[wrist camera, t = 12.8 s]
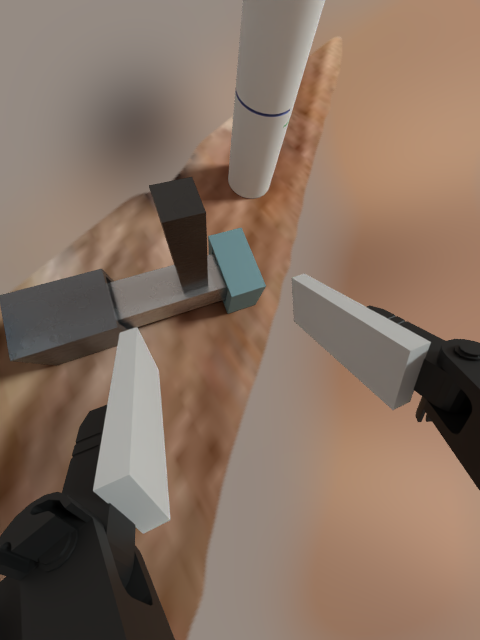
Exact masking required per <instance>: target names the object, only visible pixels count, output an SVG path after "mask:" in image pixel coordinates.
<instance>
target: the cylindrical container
mask: <svg viewBox="0 0 480 640" xmlns="http://www.w3.org/2000/svg"><path fill="white" fill-rule="evenodd" d="M324 2H325V0H243V6H242V18H241V30H240V42H239V55H238V68H237V79H236V91H235V103H234V114H233V126H232V138H231V150H230V162H229V175H228V182H229V185H230V187H231V189H232V190H233V191H234V192H235V193H236V194H238V195H240V196H242V197H245V198H258V197H261V196H263V195H264V194H265V193H266V192H267V191H268V189H269V186H270V183H271V179H272V176H273V173H274V169H275V166H276V163H277V159H278V156H279V153H280V149H281V146H282V143H283V139H284V136H285V133H286V129H287V126H288V123H289V119H290V116H291V113H292V109H293V106H294V103H295V99H296V96H297V93H298V89H299V86H300V82H301V79H302V76H303V72H304V69H305V66H306V62H307V59H308V56H309V52H310V49H311V46H312V42H313V39H314V36H315V32H316V29H317V25H318V22H319V19H320V16H321V12H322V9H323V6H324Z"/></svg>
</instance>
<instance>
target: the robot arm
mask: <svg viewBox="0 0 480 640" xmlns="http://www.w3.org/2000/svg"><path fill="white" fill-rule="evenodd" d="M292 293H293V312H294V322H296V324H298V325H299V326H300V327H301V328H302V329H303V330H304V331H305V332H306V333H308V334H309V335H310V336H311V337H312V338H313V339H314V340H316V341H317V342H318V343H319V344H320V345H321V346H322V347H323V348H324V349H325V350H327V351H328V352H329V353H330V354H331V355H332V356H333V357H334V358H335V359H337V360H338V361H339V362H340V363H341V364H342V365H343V366H344V367H345V368H347V369H348V370H349V371H350V372H351V373H352V374H353V375H355V377H357V378H358V379H359V380H360V381H361V382H362V383H363V384H364V385H366V386H367V387H368V388H369V389H370V390H371V391H372V392H373V393H374V394H375V395H377V396H378V397H379V398H380V399H381V400H382V401H383V402H384V403H386V404H387V405H388V406H389V407H390V408H391V409H392V410H394V409H396V408H398V407H400V406H402V405H404V404H406V403H408V402H410V400H411V397H412V394H413V392H414V390H415V391H416V392H417V393H419V394H420V395H422V398H421V401H420V403H419V406H418V408H417V411H416V418H417V421H418V422H421V421H422V419H423V417H424V414H425V412H426V413H427V415H426V421H427V422H428V421H432V422H433V423H434V425H435V426H436V428H437V429H438V431H439V432H440V433H441V435H442V436H443V438H444V439H445V441H446V442H447V444H448V445H449V446H450V448H451V450H452V451H453V452H454V454H455V455H456V457H457V458H458V460H459V461H460V463H461V464H462V465H463V467H464V468H465V470H466V471H467V473H468V474H469V475H470V477H471V479H472V480H473V481H474V483H475V484H476V486H477V487H478V489H479V490H480V343H478V342H475V341H470V340H465V339H453V340H448V341H445V340H442V339H441V338H439V337H436V336H435V335H433V334H431V333H429V332H427V331H425V330H423V329H421V328H419V327H417V326H415V325H413V324H411V323H409V322H405V320H403V319H401V318H400V317H398V316H397V317H396V316H395V315H394V314H392V313H390V312H388V311H386V310H384V309H381V308H377V307H373V306H367V307H365V306H363V305H362V304H360V303H358V302H356V301H354V300H352V299H350V298H349V297H347V296H345V295H343V294H341V293H339V292H338V291H336V290H334V289H332V288H330V287H328V286H326V285H325V284H323V283H321V282H319V281H317V280H315V279H313V278H312V277H310V276H308V275H306V274H302V275H299V276H295V277H292ZM72 456H73V458H72V459H71V461H70V465H69V469H68V472H67V476H66V480H65V483H64V487H63V491H62V493H59V492H55V493H51V494H47V495H44V496H43V497H41V498H39V499H37V500H36V501H34V502H32V503H31V504H29V505H28V506H27V507H26V508H25V509H24V510H23V511H22V512H21V513H19V514H18V515H17V516H16V517H15V518H14V519H13V521H12V522H11V523H10V524H9V526H8V527H7V528H6V529H5V531H4V532H3V533H2V535H1V537H0V574H1V575H4V576H7V577H6V578H4V579H3V580H2V581H1V582H0V640H175V639H174V636H173V634H172V631H171V629H170V626H169V624H168V621H167V618H166V616H165V613H164V611H163V608H162V606H161V603H160V601H159V598H158V596H157V593H156V590H155V588H154V585H153V583H152V580H151V578H150V575H149V573H148V570H147V568H146V565H145V562H144V560H143V557H142V555H141V553H140V551H139V550H138V548H137V547H136V546H135V527H136V528H137V529H138V530H140V531H141V532H142V533H145V532H147V531H149V530H151V529H154V528H156V527H158V526H160V525H162V524H164V523H166V522H168V521H170V508H169V496H168V483H167V470H166V457H165V444H164V431H163V418H162V405H161V393H160V380H159V370H158V368H157V366H156V364H155V362H154V360H153V358H152V356H151V354H150V352H149V350H148V348H147V346H146V344H145V342H144V340H143V338H142V336H141V334H140V332H139V330H138V328H137V327H136V328H133V329H129V330H126V331H123V332H120V334H119V340H118V346H117V352H116V358H115V364H114V369H113V375H112V381H111V387H110V393H109V399H108V405H105V406H103V407H100V408H97V409H95V410H92V411H90V412H89V413H88V415H87V416H86V418H85V419H84V421H83V423H82V424H81V426H80V428H79V432H78V435H77V439H76V445H75V446H74V450H73V454H72Z"/></svg>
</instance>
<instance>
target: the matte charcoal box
mask: <svg viewBox="0 0 480 640" xmlns="http://www.w3.org/2000/svg"><path fill="white" fill-rule="evenodd" d="M110 282H114V281H113V280H112V279H111V278H110V277H109V276H108V275H107V274H106V273H105V272H104V271H103V270H102V269H99V270H95V271H91V272H87V273H83V274H80V275H76V276H72V277H68V278H64V279H61V280H57V281H53V282H49V283H45V284H41V285H38V286H34V287H30V288H26V289H22V290H18V291H15V292H11V293H7V294H3V295H0V305H1V310H2V316H3V322H4V328H5V334H6V340H7V346H8V351H9V357H10V361H15V362H26V363H36V364H47V365H60V364H63V363H66V362H69V361H72V360H75V359H78V358H81V357H84V356H87V355H90V354H93V353H96V352H99V351H102V350H105V349H108V348H111V347H115V346H118V340H119V334H120V332H123V331H126V330H128V329H127V328H125V327H123V326H122V325H120V324H119V323H118V320H117V316H116V313H115V309H114V306H113V302H112V298H111V295H110V291H109V287H108V284H107V283H110Z"/></svg>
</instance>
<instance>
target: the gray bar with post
mask: <svg viewBox="0 0 480 640" xmlns="http://www.w3.org/2000/svg"><path fill="white" fill-rule="evenodd" d="M149 188H150V191H151V194H152V197H153V200H154V203H155V206H156V210H157V213H158V216H159V219H160V222H161V225H162V228H163V231H164V234H165V238H166V241H167V244H168V247H169V250H170V253H171V256H172V259H173V262H174V265H172V266H168V267H165V268H161V269H157V270H154V271H150V272H146V273H143V274H139V275H135V276H132V277H128V278H124V279H121V280H117V281H114V282H110V283H107V284H108V287H109V291H110V295H111V298H112V302H113V306H114V309H115V313H116V316H117V320H118V323H119V324H120V325H122V326H123V327H125V328H127V329H128V330H129V329H133V328H136V327H139V326H142V325H146V324H149V323H152V322H155V321H158V320H161V319H164V318H168V317H171V316H174V315H177V314H180V313H183V312H187V311H190V310H193V309H196V308H199V307H202V306H205V305H209V304H212V303H215V302H218V301H221V300H224V299H226V297H227V292H228V289H227V286H226V283H225V281H224V278H223V276H222V273H221V270H220V268H219V265H218V263H217V260H216V257H215V255H214V254H212V255H208V256H207V232H206V211H205V209H204V206H203V204H202V201H201V199H200V196H199V194H198V191H197V188H196V186H195V183H194V181H193V178H192V177H189V178H184V179H179V180H174V181H169V182H164V183H160V184H155V185H149Z"/></svg>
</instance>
